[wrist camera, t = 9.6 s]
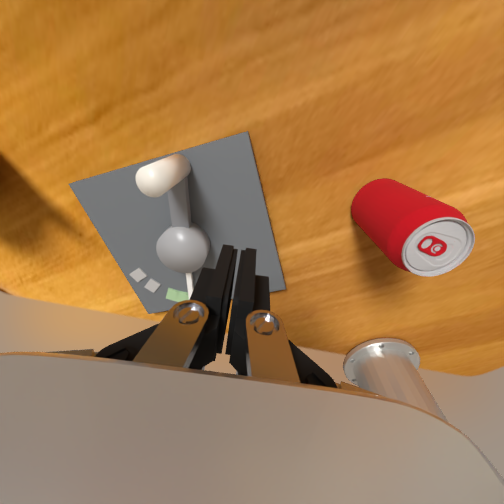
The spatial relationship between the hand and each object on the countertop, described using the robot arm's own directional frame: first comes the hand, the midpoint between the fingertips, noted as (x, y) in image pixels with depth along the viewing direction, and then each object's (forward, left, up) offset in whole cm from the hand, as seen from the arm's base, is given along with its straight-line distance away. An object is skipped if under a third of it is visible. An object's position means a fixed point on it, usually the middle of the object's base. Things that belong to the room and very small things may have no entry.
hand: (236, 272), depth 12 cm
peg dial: (-5, +10, -18) cm, 21 cm away
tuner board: (-5, +10, -19) cm, 22 cm away
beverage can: (-6, -14, -19) cm, 25 cm away
